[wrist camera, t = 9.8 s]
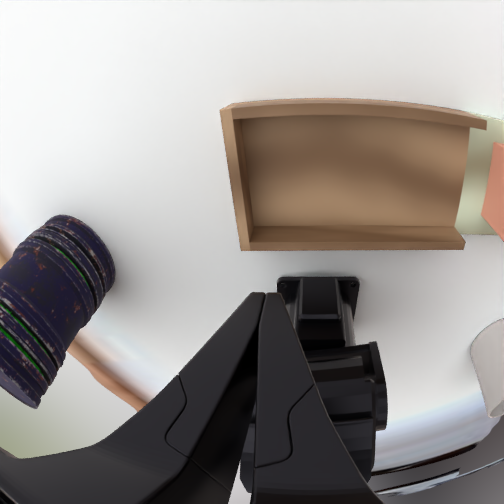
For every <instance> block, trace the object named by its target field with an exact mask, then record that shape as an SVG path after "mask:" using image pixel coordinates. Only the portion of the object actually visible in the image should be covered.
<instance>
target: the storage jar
mask: <svg viewBox="0 0 504 504" xmlns="http://www.w3.org/2000/svg"><path fill="white" fill-rule="evenodd" d="M114 280H115V268H114V263H113V260H112V257H111V255H110V253H109V251H108V249H107V247H106V246H105V244H104V243H103V241H102V240H101V239H100V237H99V236H98V235H97V234H96V233H95V232H94V231H93V230H92V229H91V228H90V227H89V226H87V225H86V224H84V223H83V222H82V221H80V220H78V219H76V218H74V217H71V216H67V215H57V216H54V217H52V218H51V219H49V220H48V221H47V222H46V223H45V224H44V225H43V226H42V227H40V228H39V229H37V230H35V231H34V232H33V233H32V234H30V235H29V236H28V237H27V238H26V239H25V241H23V242H22V243H20V244H19V246H18V247H17V248H16V250H15V251H14V253H13V257H12V258H11V259H10V260H9V261H8V262H7V263H6V264H5V265H4V266H3V267H2V268H1V269H0V386H1V387H2V388H3V389H5V390H6V391H7V392H8V393H9V394H11V395H12V396H14V397H15V398H16V399H18V400H19V401H21V402H23V403H24V404H26V405H27V406H29V407H31V408H34V409H37V408H38V406H39V404H40V402H41V399H40V398H41V396H42V395H44V394H45V393H46V391H47V389H48V386H50V385H51V384H52V382H53V381H54V379H55V377H56V375H57V371H58V370H59V368H60V367H62V365H63V361H64V360H65V356H66V353H65V352H66V350H67V349H68V347H69V346H70V344H71V342H72V341H73V339H74V338H75V336H76V334H77V333H78V331H79V330H80V328H83V327H84V326H86V324H87V323H88V322H89V321H90V319H91V317H92V315H93V314H94V313H95V312H96V311H97V309H98V308H99V306H100V305H101V303H102V300H103V298H104V297H105V295H106V292H108V291H109V289H110V288H111V287H112V285H113V283H114Z"/></svg>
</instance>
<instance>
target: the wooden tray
mask: <svg viewBox="0 0 504 504" xmlns="http://www.w3.org/2000/svg"><path fill="white" fill-rule="evenodd" d="M220 116H221V123H222V129H223V136H224V143H225V150H226V157H227V163H228V170H229V177H230V183H231V190H232V196H233V203H234V209H235V216H236V222H237V229H238V235H239V242H240V248H241V251H293V250H463V249H464V246H465V243H466V242H465V241H464V239H463V238H462V236H461V235H460V234H479V235H498V234H497V233H496V232H495V231H494V229H493V228H492V227H491V226H490V225H489V224H488V222H487V221H486V220H485V219H484V218H483V217H482V216H481V212H482V207H483V203H484V198H485V194H486V188H487V183H488V178H489V172H490V165H491V159H492V151H493V142H497V143H502V144H504V121H503V120H500V119H496V118H492V117H488V116H483V115H479V114H475V113H470V112H465V111H460V110H454V109H449V108H443V107H437V106H430V105H423V104H415V103H406V102H396V101H384V100H369V99H345V98H305V99H280V100H265V101H253V102H242V103H233V104H230V105H228V106H226V107H224V108H222V109H221V110H220Z"/></svg>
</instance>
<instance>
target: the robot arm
mask: <svg viewBox="0 0 504 504" xmlns="http://www.w3.org/2000/svg"><path fill="white" fill-rule="evenodd" d="M281 283H285V284H281ZM351 283H355V284H351ZM359 285H360V284H359V279H358V278H356V277H281V278H279V279H278V280H277V293H267V294H265V293H263V292H252V293H250V294H249V296H248V297H247V298H246V299H245V300H244V301H243V302H242V303H241V305H240V306H239V307H238V308H237V309H236V310H235V311H234V312H233V314H232V315H231V316H230V317H229V318H228V319H227V320H226V321H225V323H224V324H223V325H222V326H221V327H220V328H219V329H218V330H217V331H216V333H215V334H214V335H213V336H212V337H211V338H210V339H209V340H208V341H207V343H206V344H205V345H204V346H203V347H202V348H201V349H200V350H199V351H198V352H197V353H196V355H195V356H194V357H193V358H192V359H191V360H190V361H189V362H188V363H187V364H186V365H185V367H184V368H183V369H182V370H181V371H180V372H179V375H176V376H175V377H174V378H173V379H172V380H171V382H170V383H169V384H168V385H167V386H166V387H165V388H164V389H163V390H162V391H161V392H160V393H159V394H158V395H157V396H156V397H155V398H154V399H152V400H151V401H150V402H149V403H148V404H147V405H146V406H144V407H143V408H142V409H141V410H140V411H139V412H137V413H136V414H135V415H134V416H133V417H131V418H130V419H129V420H128V421H126V422H125V423H124V424H123V425H122V426H121V427H119V428H118V429H117V430H115V431H114V432H113V433H112V434H110V435H109V436H108V437H106V438H105V439H103V440H101V441H100V442H98V443H96V444H94V445H92V446H89V447H85V448H81V449H77V450H72V451H67V452H62V453H58V454H52V455H46V456H40V457H34V458H25V459H19V458H17V457H15V456H14V455H12V454H10V453H9V452H7V451H6V450H4V449H2V448H1V447H0V504H228V502H229V498H230V495H231V491H232V488H233V484H234V481H235V477H236V474H237V470H238V466H239V463H241V464H240V479H241V481H242V483H243V485H244V487H245V489H246V491H247V492H248V493H252V495H251V500H250V504H385V503H384V502H383V501H382V500H381V499H380V498H379V497H378V496H377V495H376V494H375V493H374V491H373V490H372V489H371V488H370V486H369V485H368V484H367V483H368V481H369V480H370V478H371V470H372V468H373V466H374V460H375V439H376V431H379V430H385V429H386V425H387V414H388V403H387V388H386V381H385V376H384V371H383V367H382V363H381V358H380V354H379V350H378V346H377V342H376V341H374V342H369V344H362V345H356V344H355V335H354V326H353V320H354V315H355V309H356V304H357V298H358V292H359ZM240 459H241V461H240Z"/></svg>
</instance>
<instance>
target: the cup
mask: <svg viewBox="0 0 504 504" xmlns="http://www.w3.org/2000/svg"><path fill="white" fill-rule="evenodd" d="M470 354H471V358H472V361H473V364H474V367H475V371H476V374H477V377H478V380H479V384H480V387H481V391H482V394H483V398H484V402H485V406H486V410H487V414H488V417H490V418H495V417H499V416H502V415H504V319H501V320H498V321H496V322H494V323H492V324H491V325H489V326H488V327H486V328H485V329H484V330H483V331H482V332H481V333H480V334H479V335H478V336H477V337H476V338H475V340H474V341H473V344H472V346H471V351H470Z"/></svg>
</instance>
